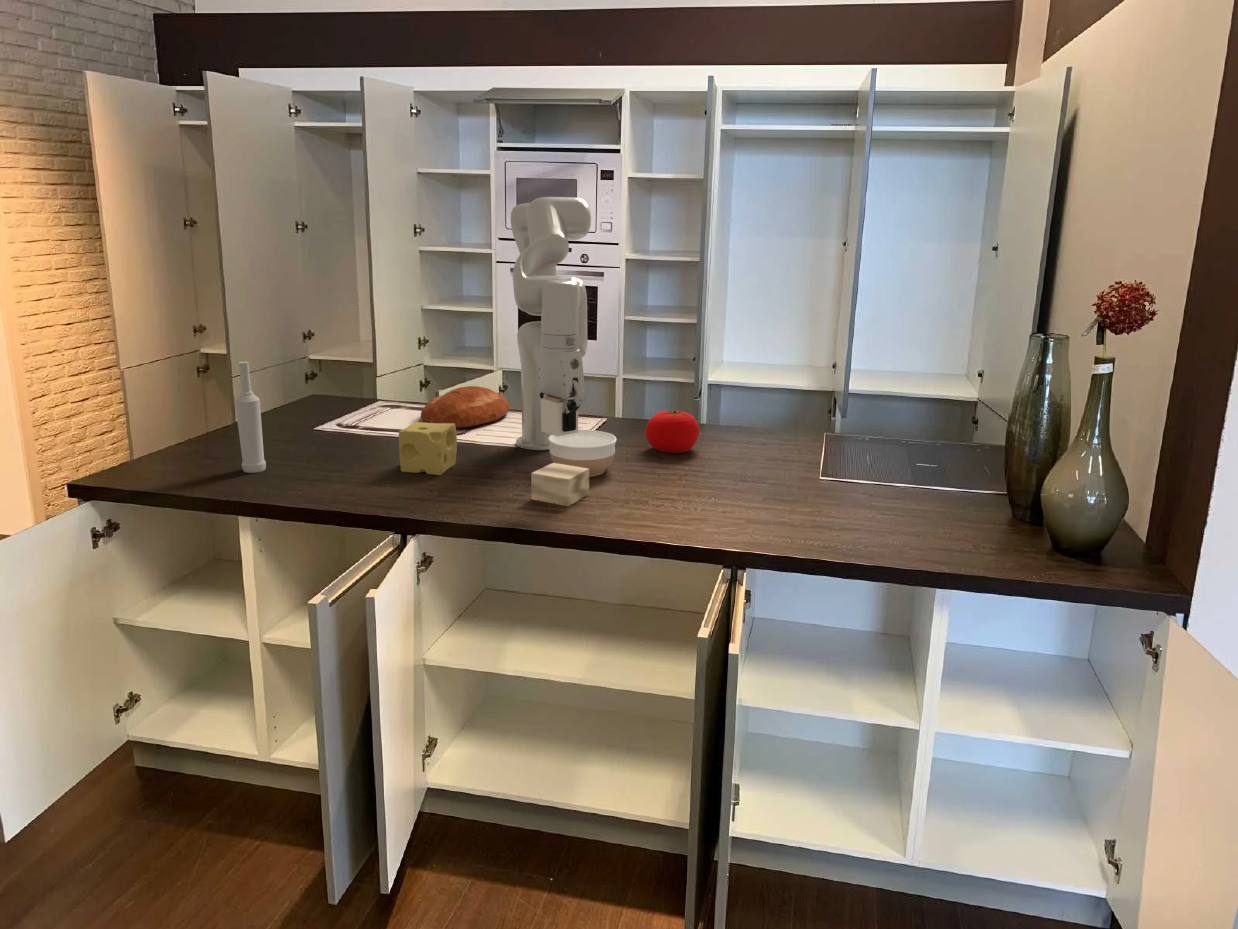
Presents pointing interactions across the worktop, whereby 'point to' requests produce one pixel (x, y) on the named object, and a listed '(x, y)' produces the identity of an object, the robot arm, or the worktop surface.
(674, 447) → the tomato
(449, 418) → the bread
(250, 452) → the bottle
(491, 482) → the worktop surface
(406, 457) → the cheese
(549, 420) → the white cube
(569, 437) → the bowl
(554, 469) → the block
